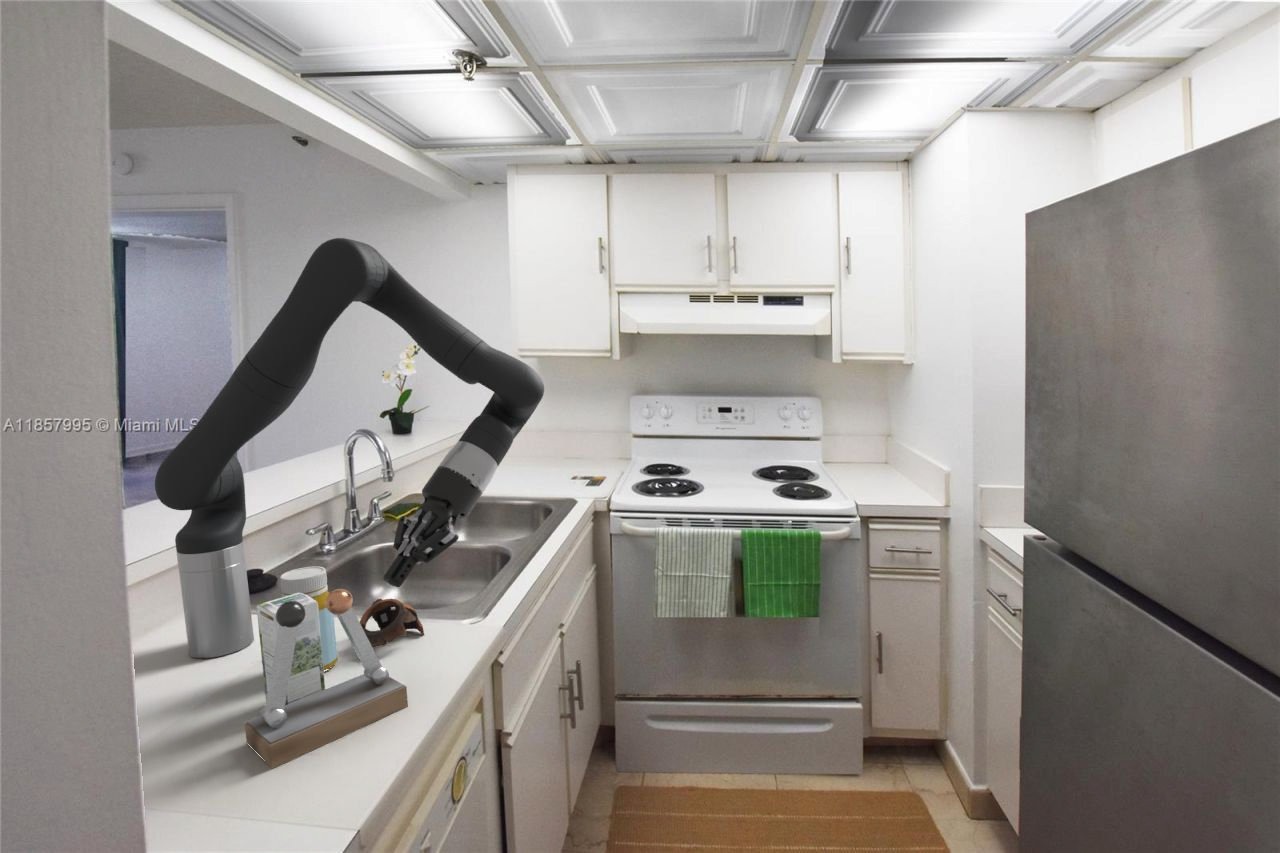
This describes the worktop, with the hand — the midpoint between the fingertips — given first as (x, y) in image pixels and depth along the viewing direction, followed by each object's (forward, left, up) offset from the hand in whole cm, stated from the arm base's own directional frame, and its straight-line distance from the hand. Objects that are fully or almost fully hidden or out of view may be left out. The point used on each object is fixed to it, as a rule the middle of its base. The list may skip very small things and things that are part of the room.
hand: (390, 583), depth 91 cm
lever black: (0, -16, -12) cm, 20 cm away
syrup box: (-10, -10, -16) cm, 21 cm away
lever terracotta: (0, -3, -12) cm, 12 cm away
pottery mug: (-18, +9, -16) cm, 26 cm away
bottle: (-19, -4, -16) cm, 25 cm away
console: (0, -9, -16) cm, 19 cm away
